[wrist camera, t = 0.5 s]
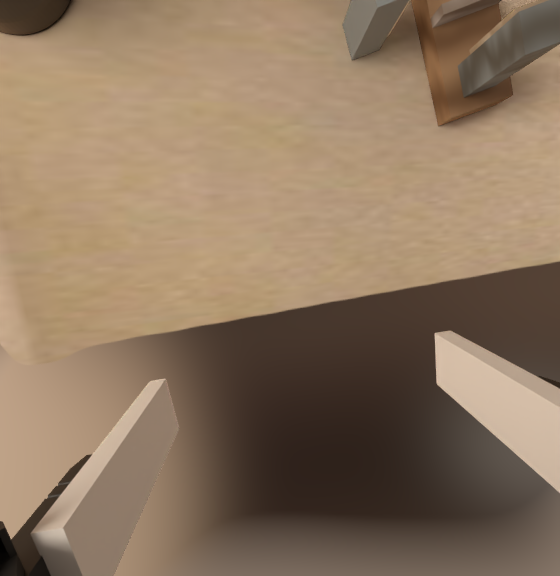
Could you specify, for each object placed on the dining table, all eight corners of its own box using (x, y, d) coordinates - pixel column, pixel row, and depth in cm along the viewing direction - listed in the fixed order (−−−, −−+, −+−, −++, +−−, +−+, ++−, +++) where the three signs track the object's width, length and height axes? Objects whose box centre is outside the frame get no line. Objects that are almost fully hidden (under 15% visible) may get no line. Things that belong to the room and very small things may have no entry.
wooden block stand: (404, -31, 32) (469, -156, 22) (468, -56, 32) (564, -194, 22) (438, 126, 36) (507, 82, 25) (496, 104, 36) (589, 51, 25)
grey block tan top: (351, 60, 34) (377, 7, 26) (342, 24, 33) (365, -41, 25) (383, 48, 34) (418, -9, 26) (374, 12, 33) (408, -58, 25)
